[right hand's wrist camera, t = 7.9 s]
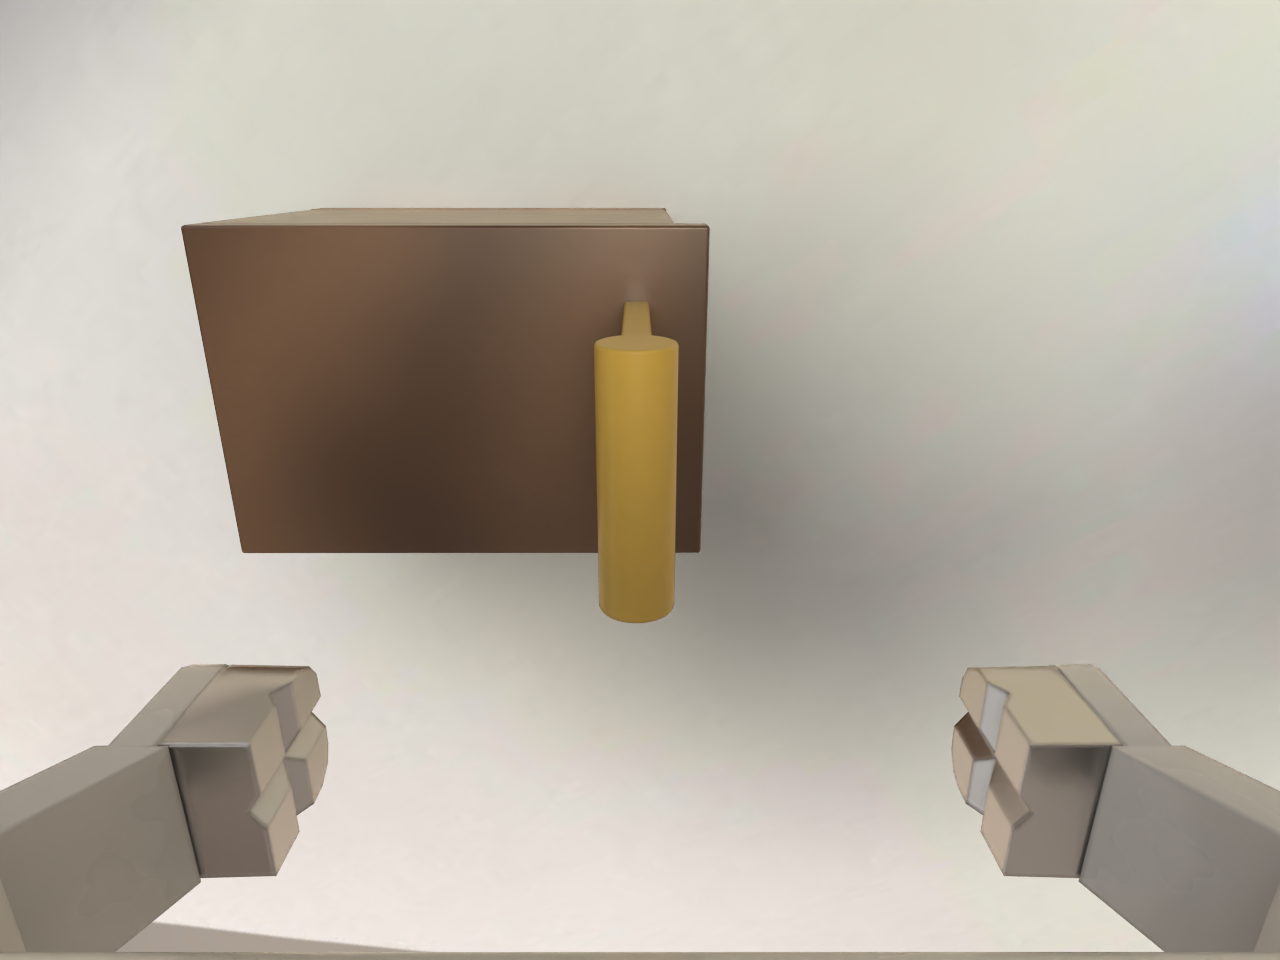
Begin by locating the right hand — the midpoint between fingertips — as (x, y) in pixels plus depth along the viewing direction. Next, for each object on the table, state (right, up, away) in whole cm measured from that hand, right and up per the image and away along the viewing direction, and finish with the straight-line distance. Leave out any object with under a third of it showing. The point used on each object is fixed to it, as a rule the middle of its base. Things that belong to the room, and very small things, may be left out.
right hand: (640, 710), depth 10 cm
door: (-5, +6, +15) cm, 17 cm away
